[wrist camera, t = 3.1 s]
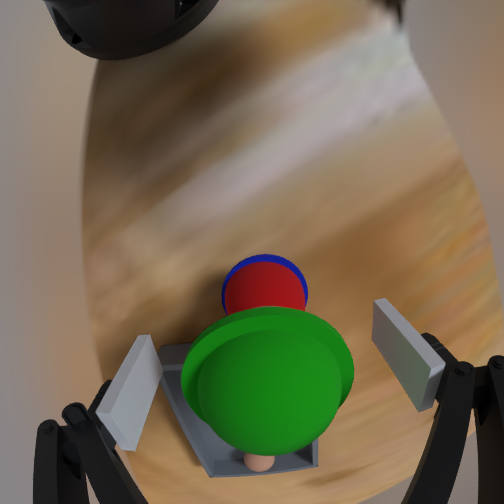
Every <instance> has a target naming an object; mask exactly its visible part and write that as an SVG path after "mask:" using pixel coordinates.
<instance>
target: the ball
mask: <svg viewBox="0 0 504 504" xmlns="http://www.w3.org/2000/svg"><path fill="white" fill-rule="evenodd" d="M274 460H275V456H260V455H254V454H250V453H246V452H245V455H244V462H245V464H246V466H247V467H248V468H249V469H251V470H253V471H256V472H262V471H266V470H268V469H269V468H270V467H271V466H272V465H273V463H274Z"/></svg>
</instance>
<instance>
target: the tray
mask: <svg viewBox="0 0 504 504" xmlns="http://www.w3.org/2000/svg"><path fill="white" fill-rule="evenodd" d="M191 345H192V343H187V344H176V345H163V346H161V348H160V350H159V352H158V358H159V360H160V363H161V365H162V368H163V370H164V371H163V373H162V376H161V379H160V381H159V382H160V384H161V386H162V388H163V390H164V393H165V395H166V397H167V399H168V401H169V403H170V406H171V408H172V410H173V412H174V414H175V416H176V418H177V420H178V422H179V424H180V426H181V428H182V430H183V431H184V433H185V435H186V437H187V439H188V441H189V443H190V445H191V446H192V448H193V450H194V452H195V454H196V455H197V457H198V459H199V461H200V462H201V464H202V466H203V467H204V469H205V471H206V472H207V474H208V476H209V477H240V476H254V475H265V474H274V473H282V472H289V471H296V470H302V469H307V468H313V467H318V438H317V439H316V440H314V441H313V442H312V443H310V444H309V445H307V446H305V447H303V448H301V449H299V450H297V451H294V452H291V453H288V454H284V455H277V456H275V460H274V463H273V465H272V466H271V467H270V468H269V469H268V470H266V471H262V472H256V471H253V470H251V469H249V468H248V467H247V466H246V464H245V462H244V455H245V452H243V451H241V450H238V449H236V448H234V447H232V446H231V445H229V444H227V443H226V442H225V441H223V440H222V439H221V438H220V437H219V436H218V435H217V434H216V433H215V432H214V431H213V430H212V428H211V427H210V426H209V425H208V424H207V423H205V422H204V421H203V420H201V419H200V418H199V417H198V416H197V415H196V414H195V413H194V412H193V410H192V409H191V408H190V407H189V405H188V403H187V401H186V399H185V397H184V394H183V391H182V385H181V374H182V369H183V365H184V362H185V358H186V356H187V353H188V351H189V349H190V347H191Z"/></svg>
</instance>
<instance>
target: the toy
mask: <svg viewBox="0 0 504 504" xmlns="http://www.w3.org/2000/svg"><path fill="white" fill-rule="evenodd" d="M307 299H308V288H307V284H306V281H305V279H304V276H303V274H302V273H301V272H300V270H299V269H298V268H297V267H296V266H295V265H294V264H293V263H292V262H290V261H289V260H287V259H285V258H283V257H280V256H276V255H270V254H261V255H255V256H251V257H249V258H246V259H244V260H242V261H241V262H239V263H238V264H237V265H235V266H234V267H233V268H232V269H231V271H230V272H229V273H228V275H227V276H226V279H225V281H224V283H223V287H222V304H223V307H224V310H225V312H226V314H227V317H224V318H222V319H220V320H218V321H217V322H215V323H213V324H212V325H210V326H209V327H208V328H206V329H205V330H204V331H203V332H202V333H201V334H200V335H199V336H198V337H197V338H196V340H195V341H194V342H193V343H192V345H191V347H190V349H189V351H188V353H187V356H186V358H185V362H184V365H183V369H182V374H181V385H182V391H183V394H184V397H185V399H186V401H187V403H188V405H189V407H190V408H191V409H192V410H193V412H194V413H195V414H196V415H197V416H198V417H199V418H200V419H201V420H203V421H204V422H205V423H207V424H208V425H209V426H210V427H211V428H212V430H213V431H214V432H215V433H216V434H217V435H218V436H219V437H220V438H221V439H222V440H223V441H225V442H226V443H227V444H229V445H231V446H232V447H234V448H236V449H238V450H241V451H243V452H246V453H250V454H254V455H260V456H277V455H284V454H288V453H291V452H294V451H297V450H299V449H301V448H303V447H305V446H307V445H309V444H310V443H312V442H313V441H314V440H316V439H317V438H318V437H319V436H320V435H321V434H322V433H323V432H324V431H325V430H326V429H327V427H328V426H329V425H330V423H331V422H332V420H333V418H334V416H335V414H336V412H337V410H338V409H339V407H340V406H341V405H342V404H343V402H344V401H345V399H346V398H347V396H348V394H349V392H350V390H351V387H352V383H353V380H354V364H353V359H352V356H351V354H350V351H349V349H348V347H347V345H346V343H345V342H344V340H343V338H342V337H341V335H340V334H339V333H338V332H337V330H336V329H335V328H333V327H332V326H331V325H330V324H329V323H327V322H326V321H324V320H323V319H321V318H319V317H317V316H316V315H313V314H310V313H308V312H305V307H306V303H307Z"/></svg>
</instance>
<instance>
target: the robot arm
mask: <svg viewBox="0 0 504 504" xmlns="http://www.w3.org/2000/svg"><path fill="white" fill-rule="evenodd" d="M43 1H44V2H45V4H46V6H47V8H48V10H49V12H50V15H51V16H52V19H53V21H54V23H55V25H56V27H57V29H58V31H59V33H60V35H61V36H62V38H63V39H64V40H65V41H66V42H67V43H68V44H69V45H70V46H72V47H73V48H75V49H76V50H78V51H80V52H81V53H83V54H85V55H87V56H89V57H92V58H96V59H102V60H118V59H125V58H131V57H135V56H139V55H142V54H145V53H148V52H151V51H153V50H156V49H158V48H160V47H163V46H165V45H167V44H169V43H170V42H172V41H174V40H176V39H178V38H179V37H181V36H182V35H184V34H185V33H187V32H188V31H190V30H191V29H192V28H194V27H195V26H196V25H197V24H199V23H200V22H201V21H202V20H203V19H204V18H205V17H206V16H207V15H208V14H209V13H210V12H211V10H212V9H213V8H214V7H215V5H216V4H217V2H218V1H219V0H43ZM372 340H373V342H374V343H375V345H376V346H377V348H378V349H379V351H380V352H381V354H382V355H383V357H384V358H385V360H386V362H387V363H388V365H389V366H390V368H391V369H392V371H393V372H394V374H395V375H396V377H397V378H398V380H399V382H400V383H401V385H402V386H403V388H404V389H405V391H406V393H407V394H408V396H409V397H410V399H411V401H412V402H413V404H414V405H415V407H416V409H417V410H418V412H421V411H424V410H426V409H428V408H431V407H432V406H433V403H434V400H435V399H436V400H437V402H438V403H439V405H438V407H437V410H436V413H435V415H434V421H433V425H432V428H431V431H430V434H429V437H428V440H427V443H426V446H425V449H424V451H423V454H422V457H421V459H420V462H419V465H418V467H417V470H416V472H415V474H414V477H413V479H412V481H411V484H410V486H409V488H408V490H407V492H406V495H405V497H404V499H403V501H402V503H401V504H447V503H448V500H449V497H450V494H451V492H452V489H453V486H454V482H455V479H456V476H457V473H458V469H459V466H460V462H461V458H462V454H463V450H464V446H465V441H466V437H467V432H468V427H469V421H470V415H471V409H474V416H475V425H476V434H477V446H478V447H477V448H478V472H479V474H478V475H479V476H478V477H479V478H478V481H479V482H478V504H504V356H501V355H496V356H493V357H491V358H490V359H489V361H488V364H487V366H481V367H474V366H473V365H472V364H470V363H468V362H464V361H461V362H458V360H457V359H456V358H455V357H454V356H453V355H452V354H451V353H450V352H449V351H448V350H447V349H446V348H445V347H444V346H443V345H442V344H441V343H440V342H439V340H438V339H437V338H436V337H435V336H433V335H431V334H429V333H427V332H426V333H423V334H419V333H418V332H417V331H416V330H415V329H414V328H413V327H412V326H411V325H410V323H409V322H408V321H407V320H406V319H405V318H404V317H403V316H402V315H401V314H400V313H399V312H398V311H397V310H396V309H395V308H394V307H393V306H392V305H391V304H390V303H389V302H388V301H387V300H386V298H383V299H379V300H374V301H373V329H372ZM163 371H164V370H163V368H162V365H161V363H160V360H159V358H158V355H157V352H156V350H155V347H154V345H153V342H152V339H151V336H150V334H149V335H138V337H137V339H136V340H135V342H134V344H133V345H132V347H131V349H130V351H129V352H128V354H127V356H126V358H125V359H124V361H123V363H122V365H121V366H120V368H119V370H118V372H117V373H116V375H115V377H114V379H113V380H107V381H106V382H105V383H104V384H103V385H102V386H101V388H100V390H99V392H98V394H97V395H96V397H95V399H94V400H93V402H92V404H91V406H90V407H89V409H88V411H87V409H86V408H85V406H84V405H83V404H82V403H77V402H75V403H72V404H70V405H68V406H66V407H65V408H64V409H63V411H62V418H63V419H64V420H65V422H66V423H67V426H59V425H58V423H57V422H56V421H55V420H52V419H51V420H46V421H44V422H43V423H41V424H40V425H39V427H38V431H37V438H36V448H35V458H34V474H33V504H90V503H89V497H88V490H87V482H86V474H87V476H88V479H89V481H90V484H91V486H92V488H93V490H94V492H95V495H96V497H97V499H98V501H99V503H100V504H148V502H147V501H146V499H145V498H144V496H143V495H142V493H141V492H140V490H139V489H138V487H137V485H136V484H135V482H134V481H133V479H132V478H131V476H130V474H129V472H128V471H127V469H126V467H125V466H124V464H123V462H122V461H121V459H120V457H119V455H118V453H117V451H116V450H115V449H114V448H115V445H116V443H117V444H118V445H119V447H120V448H121V449H122V450H129V451H135V450H136V447H137V444H138V441H139V438H140V435H141V433H142V430H143V427H144V424H145V421H146V418H147V415H148V412H149V409H150V407H151V404H152V401H153V398H154V395H155V393H156V390H157V387H158V384H159V381H160V379H161V376H162V373H163ZM85 472H86V473H85Z"/></svg>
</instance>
